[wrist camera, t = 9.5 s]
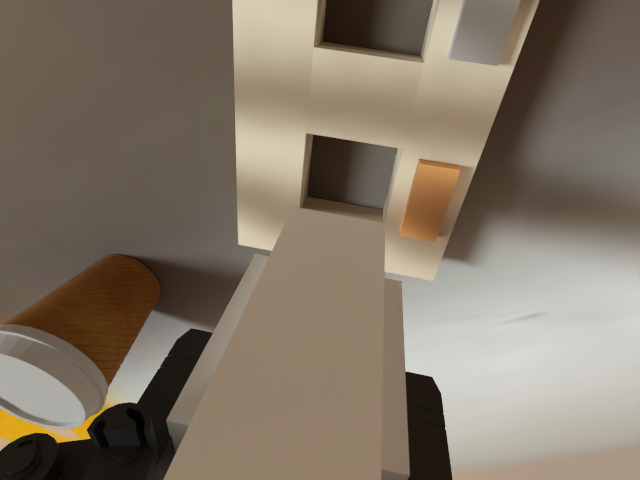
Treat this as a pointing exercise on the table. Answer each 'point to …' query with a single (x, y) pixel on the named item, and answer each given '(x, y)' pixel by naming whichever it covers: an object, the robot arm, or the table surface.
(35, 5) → the table surface
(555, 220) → the table surface
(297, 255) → the plug
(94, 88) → the table surface
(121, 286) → the disposable coffee cup
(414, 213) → the socket plate
